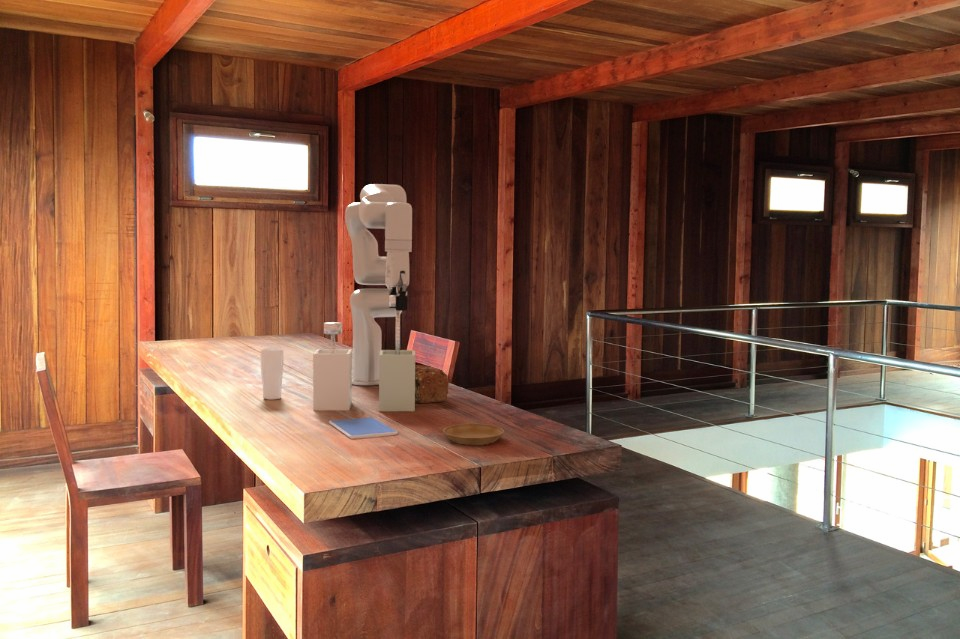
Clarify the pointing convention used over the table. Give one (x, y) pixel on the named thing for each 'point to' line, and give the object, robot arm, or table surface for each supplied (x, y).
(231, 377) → the table surface
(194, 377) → the table surface
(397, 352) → the silver rod piece
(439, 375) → the bread
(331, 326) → the plunger white
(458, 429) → the plant saucer
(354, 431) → the tablet computer
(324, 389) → the press white
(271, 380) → the drinking glass
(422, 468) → the table surface
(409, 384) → the press sage
